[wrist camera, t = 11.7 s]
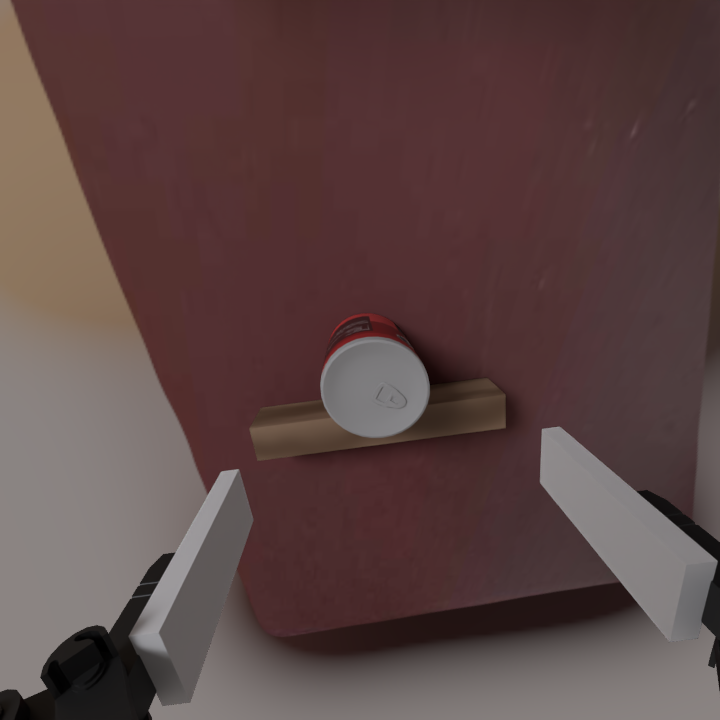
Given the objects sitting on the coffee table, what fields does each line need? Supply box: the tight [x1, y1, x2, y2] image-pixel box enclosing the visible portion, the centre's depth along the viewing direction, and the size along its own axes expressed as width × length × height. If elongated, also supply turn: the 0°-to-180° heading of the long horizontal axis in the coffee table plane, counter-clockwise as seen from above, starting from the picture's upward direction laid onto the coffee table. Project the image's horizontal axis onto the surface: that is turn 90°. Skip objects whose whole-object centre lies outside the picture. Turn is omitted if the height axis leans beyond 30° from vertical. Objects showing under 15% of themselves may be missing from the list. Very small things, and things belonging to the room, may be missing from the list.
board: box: [250, 378, 506, 461], centre depth 35 cm, size 4×24×4 cm, turn 98°
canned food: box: [320, 313, 430, 438], centre depth 30 cm, size 8×8×11 cm
